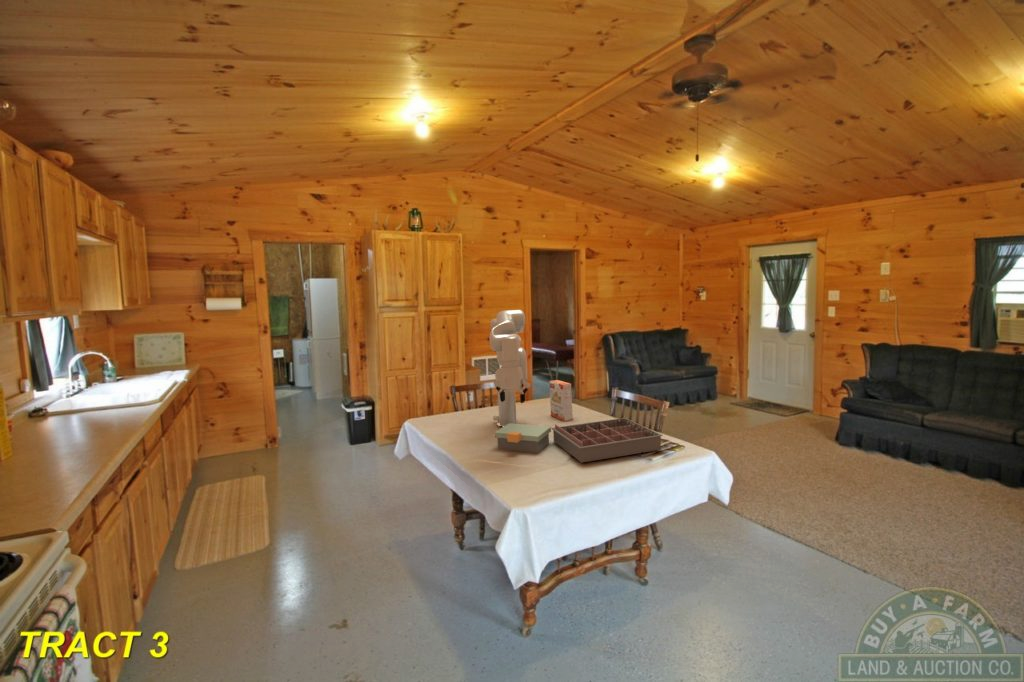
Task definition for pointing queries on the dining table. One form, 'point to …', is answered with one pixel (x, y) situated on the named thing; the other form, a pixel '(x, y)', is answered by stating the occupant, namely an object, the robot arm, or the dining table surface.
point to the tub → (524, 445)
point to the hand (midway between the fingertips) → (512, 401)
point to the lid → (522, 432)
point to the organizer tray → (606, 439)
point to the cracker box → (561, 400)
